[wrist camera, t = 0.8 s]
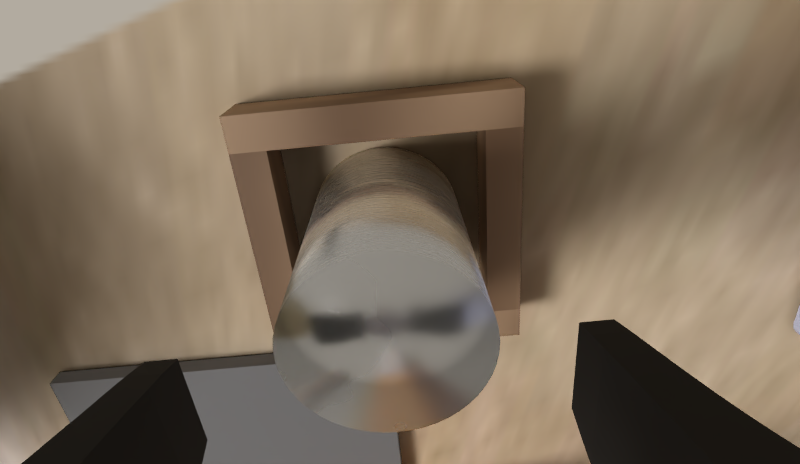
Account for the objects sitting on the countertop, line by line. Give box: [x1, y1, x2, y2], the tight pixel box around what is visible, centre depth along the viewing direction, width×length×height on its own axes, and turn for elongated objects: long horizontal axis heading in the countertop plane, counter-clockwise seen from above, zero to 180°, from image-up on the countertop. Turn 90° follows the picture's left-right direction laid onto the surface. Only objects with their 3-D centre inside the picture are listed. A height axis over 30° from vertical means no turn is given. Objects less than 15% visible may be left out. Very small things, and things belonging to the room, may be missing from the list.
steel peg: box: [273, 147, 500, 433], centre depth 13 cm, size 4×4×6 cm
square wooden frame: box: [219, 78, 525, 336], centre depth 15 cm, size 8×8×2 cm
